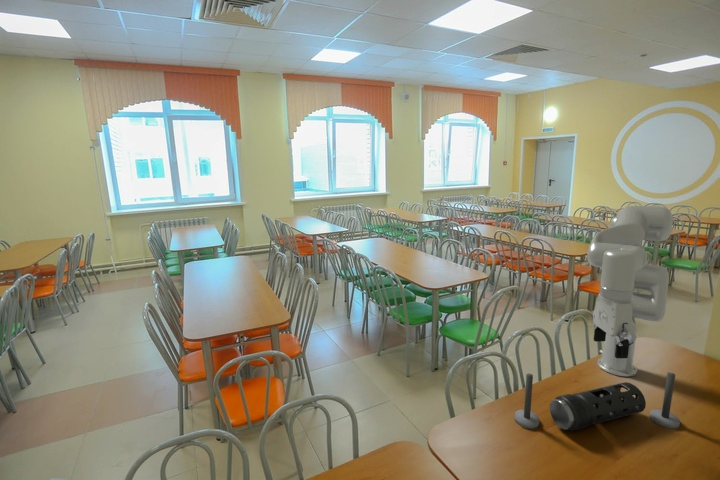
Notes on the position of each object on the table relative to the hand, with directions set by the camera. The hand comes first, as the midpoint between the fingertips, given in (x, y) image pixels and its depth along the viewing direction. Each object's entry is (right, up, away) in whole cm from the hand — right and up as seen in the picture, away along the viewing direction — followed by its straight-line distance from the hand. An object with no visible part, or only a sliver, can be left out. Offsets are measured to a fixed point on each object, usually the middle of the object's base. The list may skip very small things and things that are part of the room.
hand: (609, 349), depth 104 cm
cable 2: (+22, -24, +7) cm, 33 cm away
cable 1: (-20, -25, +9) cm, 34 cm away
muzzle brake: (+1, -25, +8) cm, 26 cm away
